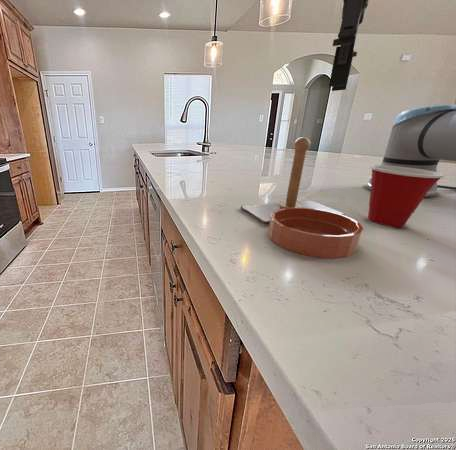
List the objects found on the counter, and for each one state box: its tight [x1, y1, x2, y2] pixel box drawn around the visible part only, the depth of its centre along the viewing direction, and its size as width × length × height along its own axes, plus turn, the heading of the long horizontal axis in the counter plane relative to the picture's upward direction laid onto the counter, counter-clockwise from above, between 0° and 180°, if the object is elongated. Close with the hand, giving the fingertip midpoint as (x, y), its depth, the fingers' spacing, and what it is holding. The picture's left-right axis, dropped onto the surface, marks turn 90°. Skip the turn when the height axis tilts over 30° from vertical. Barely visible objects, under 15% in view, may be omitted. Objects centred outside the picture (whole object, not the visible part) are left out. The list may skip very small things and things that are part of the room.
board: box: [240, 199, 346, 225], centre depth 60 cm, size 20×11×1 cm, turn 99°
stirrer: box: [279, 136, 311, 209], centre depth 56 cm, size 5×5×17 cm
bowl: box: [267, 208, 364, 259], centre depth 46 cm, size 14×14×4 cm
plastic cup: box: [367, 164, 445, 229], centre depth 51 cm, size 11×11×12 cm
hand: (337, 88), depth 53 cm, fingers open, 13 cm apart
